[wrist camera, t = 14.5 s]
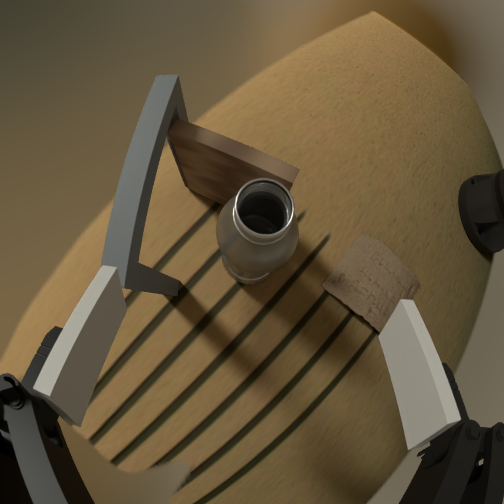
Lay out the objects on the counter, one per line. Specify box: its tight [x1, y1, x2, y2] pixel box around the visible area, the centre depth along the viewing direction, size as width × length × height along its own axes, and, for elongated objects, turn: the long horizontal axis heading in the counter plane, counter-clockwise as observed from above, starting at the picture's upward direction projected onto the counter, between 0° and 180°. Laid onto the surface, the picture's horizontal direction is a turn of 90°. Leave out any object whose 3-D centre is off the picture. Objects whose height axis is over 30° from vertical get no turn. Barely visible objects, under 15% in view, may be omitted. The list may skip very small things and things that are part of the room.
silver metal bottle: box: [216, 178, 299, 284], centre depth 26 cm, size 6×7×20 cm
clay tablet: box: [322, 233, 420, 333], centre depth 36 cm, size 14×10×3 cm
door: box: [166, 119, 300, 206], centre depth 30 cm, size 13×3×14 cm, turn 64°
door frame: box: [101, 75, 189, 296], centre depth 27 cm, size 2×18×18 cm, turn 174°
